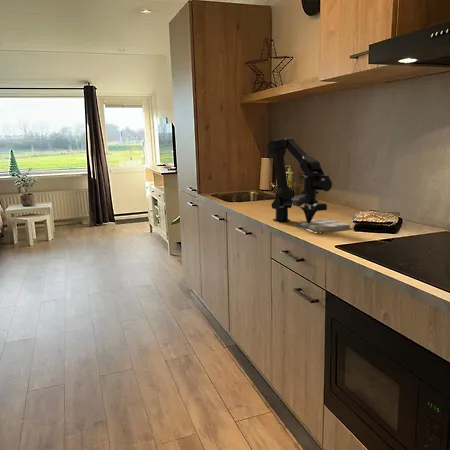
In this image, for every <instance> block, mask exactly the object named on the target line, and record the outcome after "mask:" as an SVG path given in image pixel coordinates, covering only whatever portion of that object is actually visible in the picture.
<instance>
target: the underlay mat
mask: <svg viewBox="0 0 450 450" xmlns="http://www.w3.org/2000/svg"><path fill="white" fill-rule="evenodd" d="M291 226H292V227H295V226H296V227H295V228H298V227H299V228H298V229H301V228H302V229H301V230H304V229H310V230H312V231H313V232H317V233H319V234H321V233H320V232H327V233H333V231H335V232H342V230H343V231H348V230H349V229H351V230H353V228H351V227H350V228H346V229H338V230H328V231H317V230H314V229H311V228H308V227H305V226H302V225H299V223H298V224H297V223H296V224H292V225H291ZM349 231H350V230H349ZM313 232H312V233H313Z"/></svg>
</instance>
